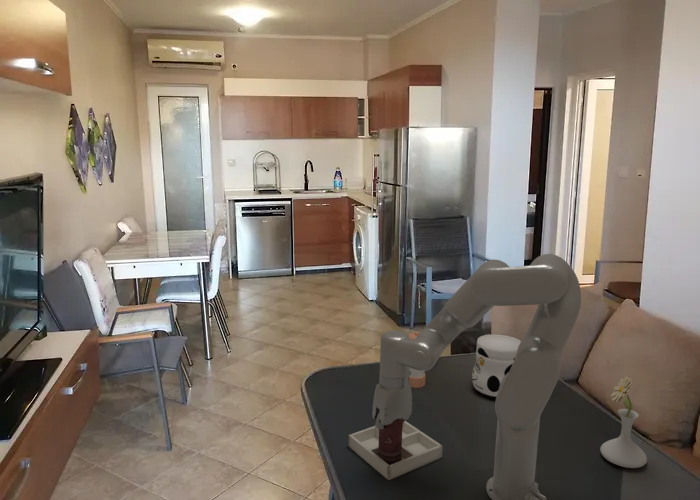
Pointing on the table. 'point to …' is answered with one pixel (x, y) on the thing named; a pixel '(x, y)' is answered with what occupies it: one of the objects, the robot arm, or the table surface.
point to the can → (391, 442)
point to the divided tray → (414, 450)
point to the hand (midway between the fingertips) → (392, 443)
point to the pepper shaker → (416, 371)
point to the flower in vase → (624, 433)
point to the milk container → (493, 362)
